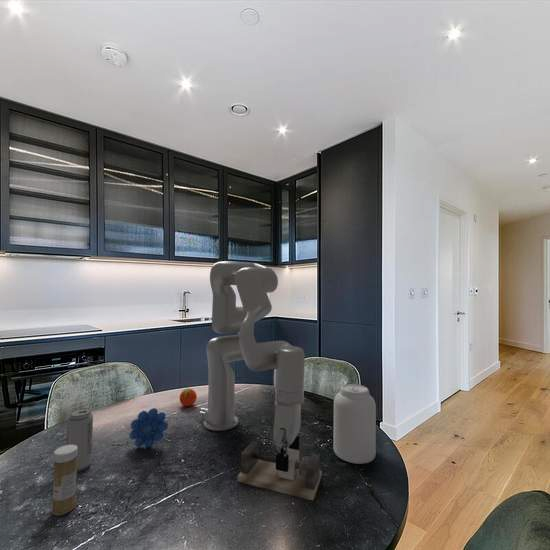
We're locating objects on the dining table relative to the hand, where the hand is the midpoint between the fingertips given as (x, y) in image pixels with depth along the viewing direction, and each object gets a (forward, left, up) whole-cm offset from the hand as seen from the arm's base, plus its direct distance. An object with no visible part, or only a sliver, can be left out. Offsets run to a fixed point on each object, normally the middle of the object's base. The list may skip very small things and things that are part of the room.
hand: (287, 459), depth 82 cm
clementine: (-54, +32, -6) cm, 63 cm away
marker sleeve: (0, 0, -3) cm, 3 cm away
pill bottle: (-44, -28, -5) cm, 53 cm away
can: (+15, +20, -5) cm, 25 cm away
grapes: (-46, +1, -5) cm, 46 cm away
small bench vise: (-2, 0, -5) cm, 6 cm away
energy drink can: (-56, -15, -5) cm, 58 cm away
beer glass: (-18, +48, -5) cm, 51 cm away
